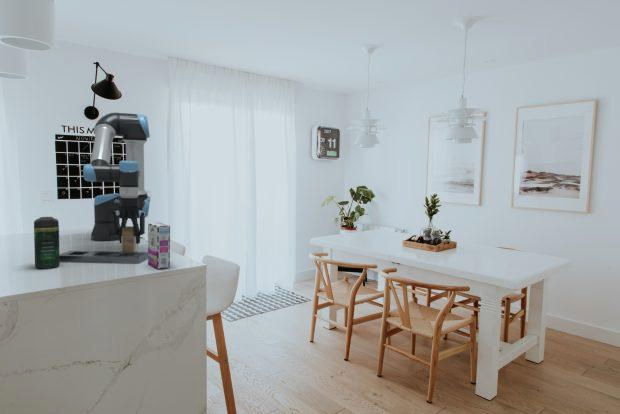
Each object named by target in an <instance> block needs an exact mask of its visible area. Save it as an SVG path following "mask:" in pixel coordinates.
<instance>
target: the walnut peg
mask: <svg viewBox="0 0 620 414" xmlns="http://www.w3.org/2000/svg"><path fill="white" fill-rule="evenodd" d="M134 236H135V231H134V227H133V225H131V226H128V225H126V227H123V228H122V245H121V252H134ZM136 252H138V251H136Z"/></svg>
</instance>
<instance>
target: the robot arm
mask: <svg viewBox="0 0 620 414" xmlns="http://www.w3.org/2000/svg"><path fill="white" fill-rule="evenodd" d="M93 134H94V135H95V136H94V142H93V148H92V153H91V158H90V159H91V160H90V163H86V164H84V166H83V171H82V172H83V173H82V175H83V179H84V181H86V182H94V183H97V182H98V183H109V182H110V183H119V193H117V192H116V193H106V194H100V195H97V196H95V197H94V199H93V208H94V211H93V213H94V214H93V215H94V224H93V228H92V231H91V234H90V240H91V241H96V242H97V241H98V242H99V241H101V242H105V241H109V242H111V241H118V240H119V244H120V245H121V246H122V228H123V227H126V226H127V222H128V219H130V221H131V223H132V226H133V227H134V231H135V236H134V252H136V251H137V252H139V244H140V243H141V236H143V235H145V231H146V227H145V224H146V222H145V220H146V219H145V218H147V217H149V211H150V202H151V196H149V195H148V191H146V190H145V148H144V147H145V143H147V142H148V139H149V138H150V137H151V134H150V129H149V122H148V117H147V116H146V115H145V114H139V113H127V112H126V113H125V112H110V113H106V114H105V115H103V116H102V117H101V118H99V119H98V121H96V123H95V125H94V128H93ZM115 137H121V138H122V141H123V143H124V144H125V160H120V161H119V163H118V164H111V157H112V150H113V149H112V148H113V141H114V139H115ZM120 219H121V221H120ZM138 219H139V222H138ZM120 222H121V224H120Z"/></svg>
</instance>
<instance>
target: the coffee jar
mask: <svg viewBox="0 0 620 414" xmlns="http://www.w3.org/2000/svg"><path fill="white" fill-rule="evenodd" d="M59 223H60V222H59V220H58V219H57V218H56V217H55V218H54V216H40V217H38V218H37V219H35V220H34V221H33V238H34V239H33V240H34V241H33V242H34V243H33V244H34V245H33V247H34V266H35V268H36V269H52V268H56V267H59V265H60V263H61V262H60V254H61V253H60V225H59Z"/></svg>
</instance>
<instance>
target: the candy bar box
mask: <svg viewBox="0 0 620 414" xmlns="http://www.w3.org/2000/svg"><path fill="white" fill-rule="evenodd" d="M170 251H171V225H169V224H165V223H161V222H148V223H147V252H148V259H147V265H149V266H151V267H153V268H155V269H156V270H165V269H170V268H171V267H170V263H171V259H170V258H171V257H170V256H171V252H170Z"/></svg>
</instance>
